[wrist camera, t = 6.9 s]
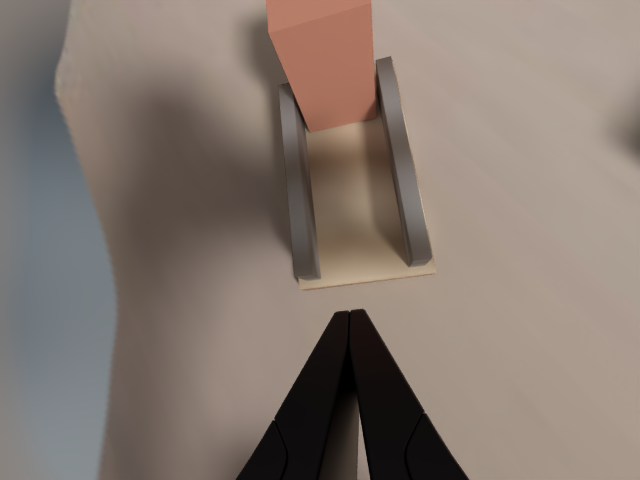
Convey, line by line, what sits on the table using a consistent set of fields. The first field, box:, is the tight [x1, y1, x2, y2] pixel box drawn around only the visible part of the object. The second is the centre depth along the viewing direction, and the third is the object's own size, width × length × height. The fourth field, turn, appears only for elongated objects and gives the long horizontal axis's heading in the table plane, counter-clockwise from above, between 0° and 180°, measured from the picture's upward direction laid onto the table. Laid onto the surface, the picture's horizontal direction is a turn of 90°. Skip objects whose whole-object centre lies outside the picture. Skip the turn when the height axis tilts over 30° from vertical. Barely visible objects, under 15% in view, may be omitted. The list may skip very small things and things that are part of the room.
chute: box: [278, 56, 436, 290], centre depth 20 cm, size 16×9×4 cm, turn 6°
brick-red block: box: [266, 0, 376, 133], centre depth 19 cm, size 5×5×8 cm
